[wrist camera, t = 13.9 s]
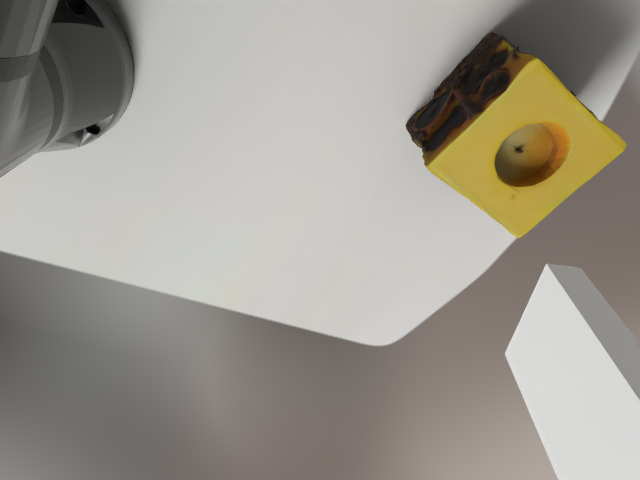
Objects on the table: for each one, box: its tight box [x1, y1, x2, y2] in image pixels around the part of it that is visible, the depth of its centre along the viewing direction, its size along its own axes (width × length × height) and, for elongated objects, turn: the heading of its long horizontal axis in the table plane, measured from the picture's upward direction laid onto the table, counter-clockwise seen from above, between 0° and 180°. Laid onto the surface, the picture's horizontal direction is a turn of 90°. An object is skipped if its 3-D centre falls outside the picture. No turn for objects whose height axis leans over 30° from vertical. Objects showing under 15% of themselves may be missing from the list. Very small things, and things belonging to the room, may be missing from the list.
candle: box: [406, 33, 627, 238], centre depth 37 cm, size 10×10×10 cm
